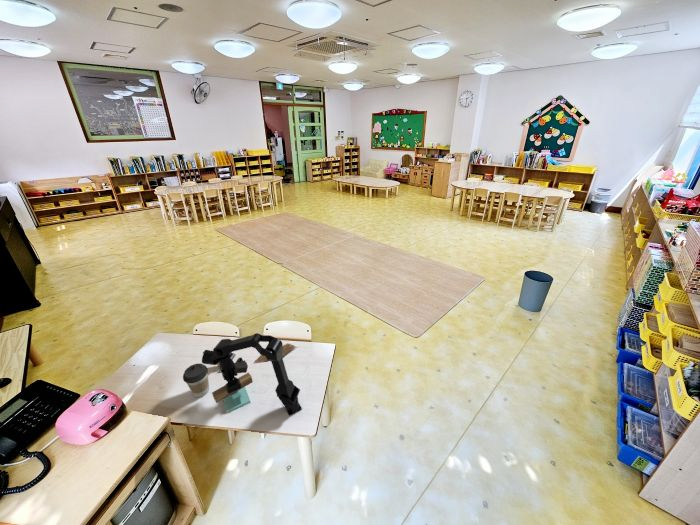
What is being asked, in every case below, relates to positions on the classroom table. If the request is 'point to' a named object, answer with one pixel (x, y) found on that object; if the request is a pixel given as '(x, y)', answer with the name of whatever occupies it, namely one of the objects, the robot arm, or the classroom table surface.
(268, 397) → the classroom table surface
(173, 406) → the classroom table surface
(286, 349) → the wooden fragment
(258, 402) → the classroom table surface
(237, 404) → the fulcrum block
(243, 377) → the walnut bar
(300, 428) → the classroom table surface
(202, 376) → the coffee cup
